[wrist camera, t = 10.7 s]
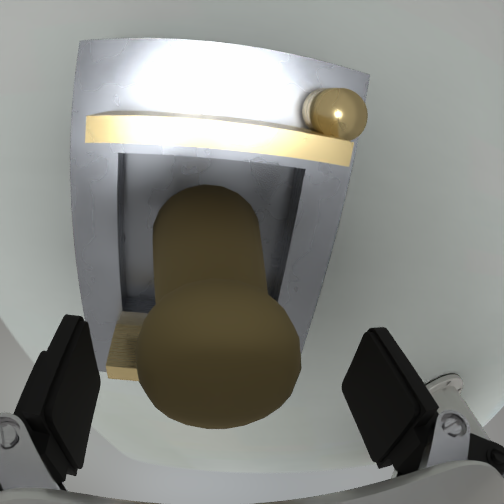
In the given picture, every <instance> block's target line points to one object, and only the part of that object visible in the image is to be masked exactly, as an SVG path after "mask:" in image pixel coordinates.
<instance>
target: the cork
mask: <svg viewBox="0 0 504 504" xmlns="http://www.w3.org/2000/svg"><path fill="white" fill-rule="evenodd" d="M153 268H154V287H155V303H156V305H155V306H154V307H153V308H152V309H151V310H150V312H149V313H148V315H147V317H146V318H145V320H144V322H143V325H142V328H141V330H140V333H139V335H138V338H137V343H136V349H135V356H136V367H137V373H138V378H139V383H140V384H141V386H142V388H143V389H144V391H145V393H146V394H147V396H148V397H149V399H150V400H151V402H152V403H153V404H154V406H155V407H156V408H157V409H158V410H160V411H161V412H162V413H164V414H165V415H166V416H167V417H169V418H171V419H173V420H176V421H178V422H180V423H183V424H185V425H190V426H195V427H200V428H206V429H227V428H233V427H238V426H244V425H247V424H249V423H252V422H255V421H257V420H260V419H262V418H265V417H266V416H268V415H269V414H271V413H272V412H274V411H275V410H277V409H278V408H280V407H281V406H282V405H283V403H284V402H285V401H286V400H287V399H288V398H289V397H290V396H291V394H292V391H293V389H294V386H295V384H296V381H297V378H298V376H299V373H300V371H301V353H300V339H299V336H298V334H297V331H296V329H295V327H294V325H293V323H292V322H291V320H290V318H289V316H288V315H287V313H286V311H285V309H284V308H283V307H282V306H281V305H280V304H279V303H278V302H277V301H276V300H275V299H273V298H272V297H271V296H269V295H268V290H267V282H266V274H265V266H264V258H263V251H262V243H261V235H260V228H259V222H258V218H257V216H256V214H255V212H254V210H253V208H252V207H251V205H250V204H249V203H248V202H247V201H246V200H245V199H244V198H243V197H242V196H240V195H239V194H238V193H236V192H234V191H232V190H230V189H227V188H225V187H223V186H216V185H206V184H203V185H198V186H194V187H189V188H185V189H184V190H182V191H180V192H178V193H177V194H175V195H173V196H172V197H170V198H169V199H168V201H167V202H166V203H165V204H164V205H163V206H162V207H161V209H160V210H159V212H158V214H157V217H156V219H155V222H154V224H153Z"/></svg>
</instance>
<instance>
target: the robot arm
mask: <svg viewBox="0 0 504 504" xmlns="http://www.w3.org/2000/svg"><path fill="white" fill-rule="evenodd" d="M462 388H463V381H462V379H461V378H460V377H459V375H456V374H450V375H446V376H443V377H440V378H438V379H436V380H434V381H432V382H431V383H429V384H427V385H426V386H425V384H424V383H423V381H422V380H421V378H420V377H419V375H418V374H417V372H416V371H415V369H414V368H413V366H412V365H411V363H410V362H409V360H408V359H407V357H406V356H405V354H404V353H403V351H402V350H401V349H400V347H399V346H398V344H397V343H396V341H395V340H394V338H393V337H392V336H391V334H390V333H389V331H388V330H387V329H386V328H384V327H380V328H370V329H369V330H368V331H367V332H365V333H364V335H363V337H362V339H361V342H360V344H359V347H358V349H357V351H356V353H355V356H354V358H353V360H352V363H351V365H350V367H349V369H348V371H347V374H346V376H345V378H344V380H343V382H342V392H343V394H344V396H345V399H346V401H347V403H348V406H349V408H350V410H351V413H352V415H353V417H354V419H355V422H356V424H357V426H358V429H359V431H360V433H361V436H362V438H363V440H364V443H365V445H366V448H367V450H368V452H369V455H370V457H371V459H372V461H373V462H376V463H377V466H378V468H379V469H380V468H383V467H387V466H390V465H392V464H393V466H394V472H393V475H392V477H391V479H388V480H385V481H382V482H378V483H374V484H370V485H367V486H362V487H358V488H354V489H350V490H345V491H340V492H335V493H331V494H325V495H319V496H314V497H308V498H301V499H294V500H287V501H277V502H269V503H256V504H504V447H503V446H501V445H499V444H497V443H495V442H492V441H491V440H490V438H489V437H488V435H487V434H486V432H485V431H484V429H483V427H482V426H481V424H480V423H479V421H478V420H477V418H476V417H475V415H474V414H473V412H472V411H471V410H470V408H469V407H468V405H467V404H466V402H465V401H464V399H463V398H462V396H461V395H460V393H461V391H462ZM99 390H100V375H99V371H98V367H97V362H96V358H95V353H94V349H93V344H92V339H91V334H90V328H89V324H88V322H87V321H84V319H83V317H81V316H75V315H67V314H66V315H65V316H64V317H63V319H62V321H61V323H60V325H59V327H58V329H57V331H56V333H55V335H54V337H53V339H52V341H51V343H50V345H49V348H48V350H47V351H42V352H41V353H40V355H39V357H38V359H37V361H36V363H35V365H34V367H33V370H32V372H31V374H30V376H29V378H28V381H27V383H26V385H25V388H24V390H23V392H22V394H21V397H20V399H19V402H18V404H17V407H16V409H15V412H14V414H11V413H0V504H159V503H147V502H137V501H128V500H119V499H112V498H106V497H99V496H93V495H88V494H81V493H74V492H69V491H68V489H67V488H66V486H65V485H64V483H63V482H64V481H65V479H66V474H69V475H73V476H76V474H77V469H81V468H82V467H83V463H84V457H85V453H86V447H87V442H88V437H89V433H90V428H91V423H92V419H93V415H94V410H95V406H96V402H97V398H98V394H99Z"/></svg>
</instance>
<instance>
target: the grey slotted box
mask: <svg viewBox="0 0 504 504" xmlns="http://www.w3.org/2000/svg"><path fill="white" fill-rule="evenodd" d="M369 77H370V75H369V74H366V73H363V72H360V71H357V70H353V69H350V68H346V67H343V66H339V65H336V64H332V63H328V62H324V61H320V60H316V59H312V58H308V57H304V56H299V55H294V54H290V53H285V52H280V51H274V50H269V49H263V48H257V47H251V46H244V45H237V44H229V43H220V42H211V41H200V40H186V39H167V38H114V39H95V40H82V41H80V43H79V49H78V56H77V64H76V72H75V81H74V91H73V103H72V119H71V146H70V179H71V206H72V222H73V235H74V246H75V255H76V264H77V272H78V279H79V286H80V293H81V299H82V305H83V311H84V316H85V321H87V322H88V324H89V328H90V334H91V339H92V344H93V349H94V353H95V358H96V362H97V367H98V371H102V372H107V375H108V378H110V379H120V380H132V381H139V378H138V373H137V367H136V356H135V349H136V343H137V338H138V335H139V333H140V330H141V328H142V325H143V322H144V320H145V318H146V317H147V315H148V313H149V312H150V310H151V309H152V308H153V307H154V306H155V305H156V303H155V287H154V268H153V224H154V222H155V219H156V217H157V214H158V212H159V210H160V209H161V207H162V206H163V205H164V204H165V203H166V202H167V201H168V199H169V198H170V197H172V196H173V195H175V194H177V193H178V192H180V191H182V190H184V189H185V188H189V187H194V186H198V185H203V184H206V185H216V186H223V187H225V188H227V189H230V190H232V191H234V192H236V193H238V194H239V195H240V196H242V197H243V198H244V199H245V200H246V201H247V202H248V203H249V204H250V205H251V207H252V208H253V210H254V212H255V214H256V216H257V218H258V222H259V228H260V235H261V243H262V251H263V258H264V266H265V274H266V282H267V290H268V295H269V296H271V297H272V298H273V299H275V300H276V301H277V302H278V303H279V304H280V305H281V306H282V307H283V308H284V309H285V311H286V313H287V315H288V316H289V318H290V320H291V322H292V323H293V325H294V327H295V329H296V331H297V334H298V336H299V339H300V353H301V352H302V349H303V346H304V343H305V340H306V337H307V334H308V331H309V328H310V324H311V321H312V318H313V315H314V311H315V308H316V305H317V301H318V298H319V295H320V291H321V288H322V284H323V281H324V277H325V274H326V270H327V267H328V263H329V260H330V256H331V252H332V248H333V245H334V241H335V237H336V233H337V229H338V225H339V221H340V217H341V213H342V209H343V205H344V201H345V197H346V193H347V188H348V184H349V180H350V175H351V171H352V166H353V162H354V157H355V152H356V147H357V143H358V138H359V135H360V134H361V133H362V132H363V130H364V128H365V126H366V123H367V108H366V105H365V101H366V95H367V89H368V83H369Z"/></svg>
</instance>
